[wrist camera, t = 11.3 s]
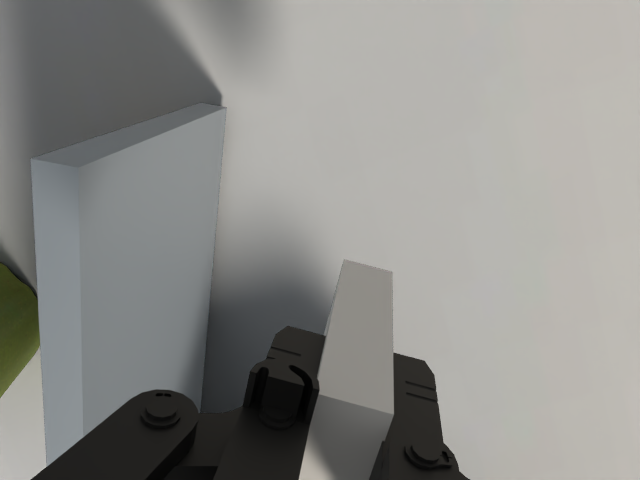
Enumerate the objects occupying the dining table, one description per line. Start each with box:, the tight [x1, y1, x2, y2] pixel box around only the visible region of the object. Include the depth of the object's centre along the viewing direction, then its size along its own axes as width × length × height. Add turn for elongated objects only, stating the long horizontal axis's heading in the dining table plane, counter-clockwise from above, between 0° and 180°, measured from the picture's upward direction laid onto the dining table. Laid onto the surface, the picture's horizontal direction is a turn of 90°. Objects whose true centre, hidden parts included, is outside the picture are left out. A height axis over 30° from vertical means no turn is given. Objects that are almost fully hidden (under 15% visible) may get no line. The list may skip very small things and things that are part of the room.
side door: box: [30, 103, 227, 466], centre depth 22 cm, size 2×22×12 cm, turn 171°
